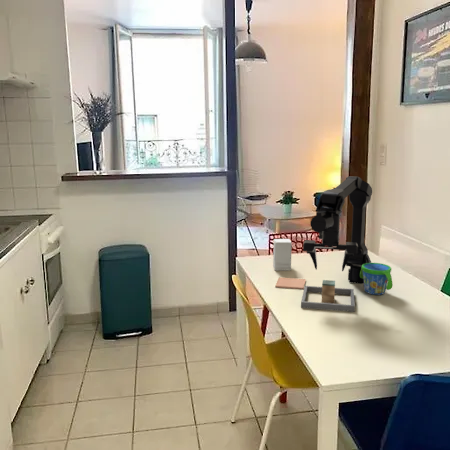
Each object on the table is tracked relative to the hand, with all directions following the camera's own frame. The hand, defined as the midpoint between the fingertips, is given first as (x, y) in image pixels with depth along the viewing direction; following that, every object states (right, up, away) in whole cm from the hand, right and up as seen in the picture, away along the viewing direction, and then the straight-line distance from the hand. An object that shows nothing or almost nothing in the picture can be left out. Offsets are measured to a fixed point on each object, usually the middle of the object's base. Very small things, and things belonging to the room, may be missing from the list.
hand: (329, 270), depth 174 cm
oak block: (0, -11, +2) cm, 12 cm away
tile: (-11, -7, +21) cm, 25 cm away
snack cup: (+20, -10, +11) cm, 24 cm away
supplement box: (-12, -3, +42) cm, 44 cm away
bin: (0, -11, +2) cm, 11 cm away
